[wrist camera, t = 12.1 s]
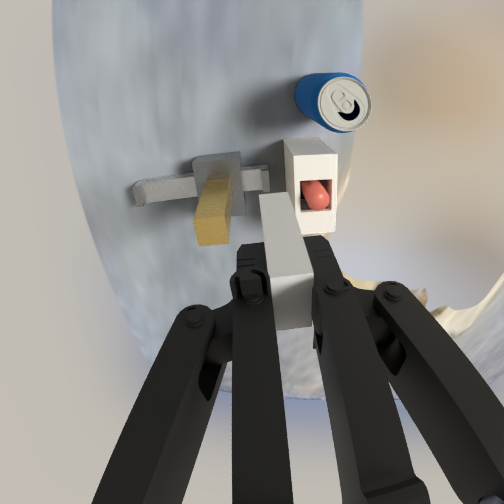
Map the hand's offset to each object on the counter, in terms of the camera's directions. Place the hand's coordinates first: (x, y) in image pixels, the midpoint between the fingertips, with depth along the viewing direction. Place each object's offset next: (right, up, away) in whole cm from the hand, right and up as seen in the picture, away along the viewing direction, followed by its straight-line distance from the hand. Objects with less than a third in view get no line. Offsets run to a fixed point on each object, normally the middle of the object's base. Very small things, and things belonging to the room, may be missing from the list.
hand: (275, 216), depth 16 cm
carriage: (-6, +8, +25) cm, 27 cm away
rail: (-8, +8, +26) cm, 28 cm away
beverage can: (+7, +19, +19) cm, 28 cm away
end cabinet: (+6, +10, +25) cm, 27 cm away
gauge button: (+6, +8, +23) cm, 25 cm away
